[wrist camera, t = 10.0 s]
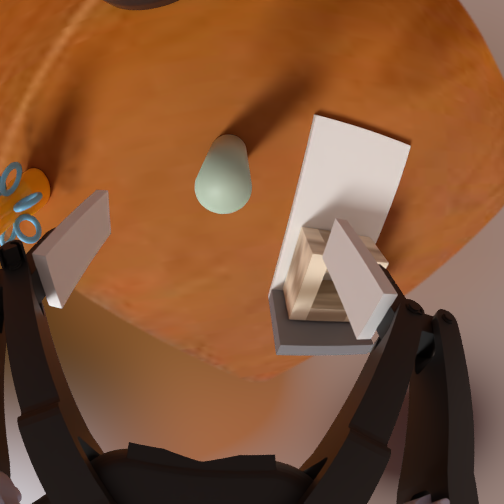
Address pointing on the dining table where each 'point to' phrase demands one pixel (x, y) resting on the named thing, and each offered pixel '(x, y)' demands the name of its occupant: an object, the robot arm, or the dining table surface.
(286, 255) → the backstop
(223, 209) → the dowel
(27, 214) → the orange ringed tube
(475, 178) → the dining table surface
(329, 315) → the block
